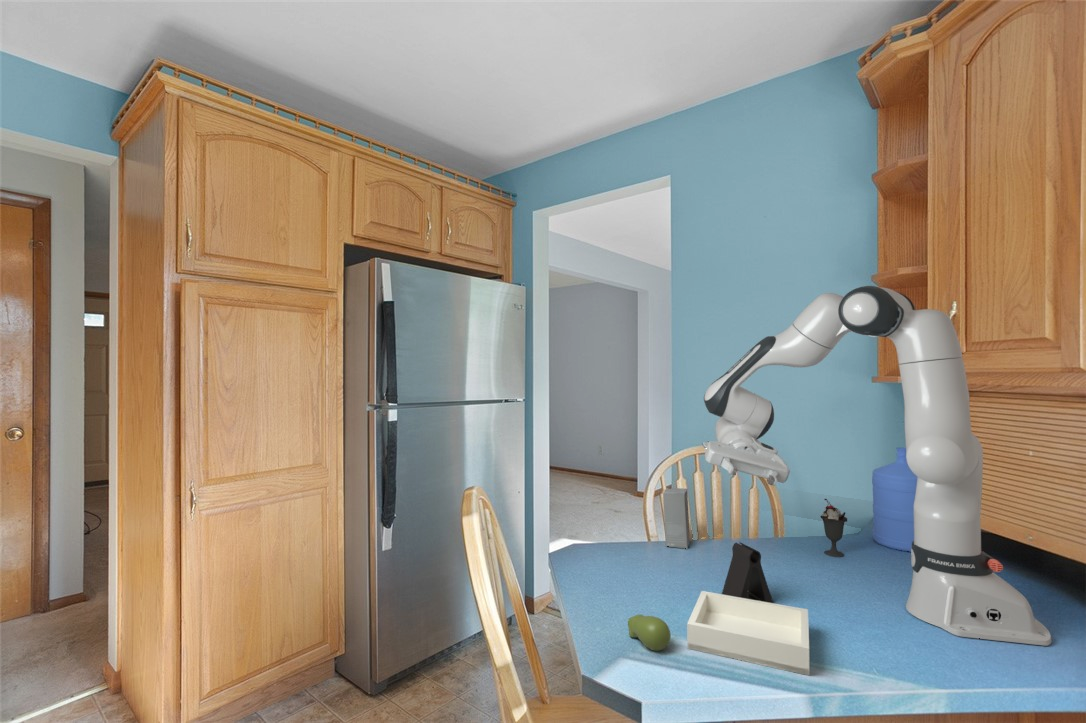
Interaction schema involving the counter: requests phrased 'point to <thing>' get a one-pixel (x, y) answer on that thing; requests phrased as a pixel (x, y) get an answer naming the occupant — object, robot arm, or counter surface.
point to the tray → (750, 631)
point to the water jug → (894, 503)
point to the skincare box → (676, 517)
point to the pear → (650, 631)
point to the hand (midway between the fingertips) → (753, 477)
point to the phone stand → (746, 575)
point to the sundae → (833, 528)
